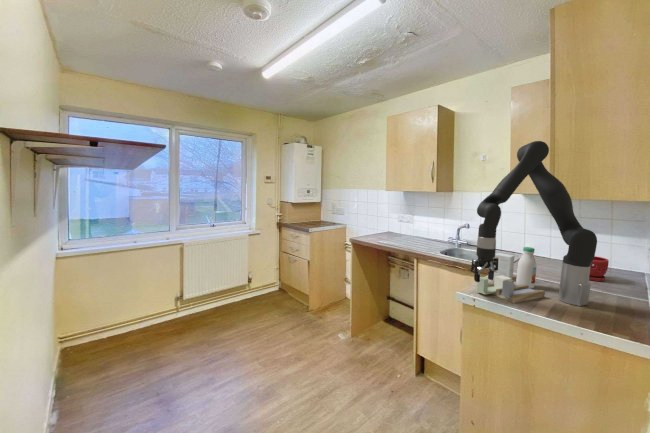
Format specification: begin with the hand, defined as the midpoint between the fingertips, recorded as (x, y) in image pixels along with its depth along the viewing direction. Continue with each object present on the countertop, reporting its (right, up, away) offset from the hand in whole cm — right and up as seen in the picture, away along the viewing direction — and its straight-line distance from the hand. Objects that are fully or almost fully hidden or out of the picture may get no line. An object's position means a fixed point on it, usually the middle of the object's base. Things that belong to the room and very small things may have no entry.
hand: (483, 280), depth 131 cm
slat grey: (+17, -6, 0) cm, 18 cm away
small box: (+25, -4, +26) cm, 36 cm away
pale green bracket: (+7, -5, +4) cm, 10 cm away
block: (+12, -5, +6) cm, 14 cm away
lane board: (+15, -7, +3) cm, 17 cm away
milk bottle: (+29, -6, +13) cm, 32 cm away
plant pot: (+75, -5, +27) cm, 80 cm away
